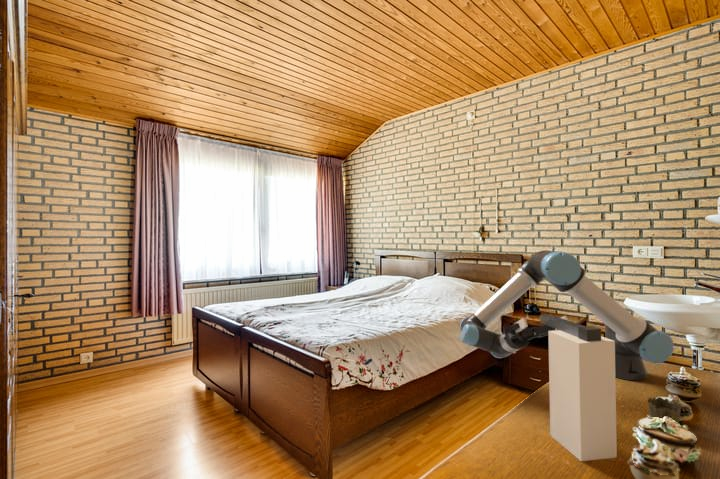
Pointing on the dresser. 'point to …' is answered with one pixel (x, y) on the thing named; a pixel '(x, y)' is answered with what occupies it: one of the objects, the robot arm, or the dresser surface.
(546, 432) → the dresser surface
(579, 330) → the dark grey bar
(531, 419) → the dresser surface
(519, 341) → the robot arm
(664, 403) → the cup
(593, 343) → the tall cream upright block
